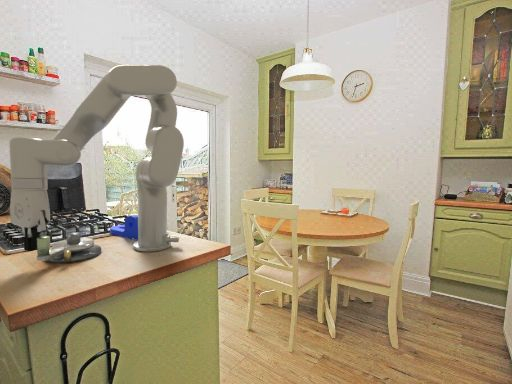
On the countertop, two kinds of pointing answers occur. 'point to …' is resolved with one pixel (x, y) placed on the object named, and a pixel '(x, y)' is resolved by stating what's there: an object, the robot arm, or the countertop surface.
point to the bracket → (127, 228)
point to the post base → (76, 255)
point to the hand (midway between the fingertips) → (32, 249)
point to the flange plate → (62, 245)
